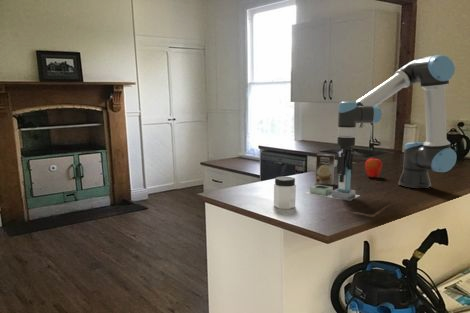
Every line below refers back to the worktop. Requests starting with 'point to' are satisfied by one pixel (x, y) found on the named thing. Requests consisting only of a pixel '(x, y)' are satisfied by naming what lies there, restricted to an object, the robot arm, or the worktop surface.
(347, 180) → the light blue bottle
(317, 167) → the coffee box
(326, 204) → the worktop surface
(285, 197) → the jar
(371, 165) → the apple
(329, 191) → the panel
